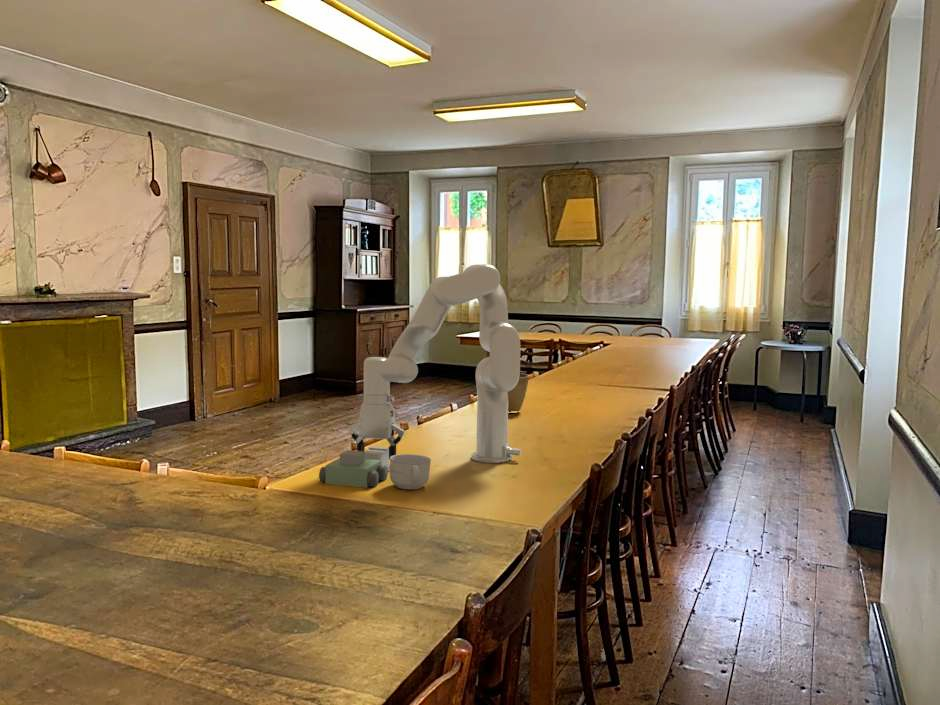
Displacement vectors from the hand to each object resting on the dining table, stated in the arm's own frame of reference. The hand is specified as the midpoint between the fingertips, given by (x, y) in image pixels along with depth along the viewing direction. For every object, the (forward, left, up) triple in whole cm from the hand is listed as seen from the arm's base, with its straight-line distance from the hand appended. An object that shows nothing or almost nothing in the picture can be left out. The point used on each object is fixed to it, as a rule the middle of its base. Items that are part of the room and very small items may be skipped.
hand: (376, 457), depth 211 cm
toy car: (0, +12, -3) cm, 12 cm away
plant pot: (-19, -100, -3) cm, 102 cm away
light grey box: (0, 0, -3) cm, 3 cm away
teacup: (-17, +18, -3) cm, 25 cm away
